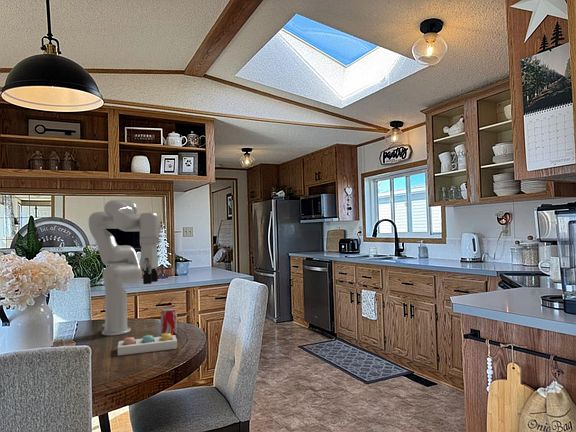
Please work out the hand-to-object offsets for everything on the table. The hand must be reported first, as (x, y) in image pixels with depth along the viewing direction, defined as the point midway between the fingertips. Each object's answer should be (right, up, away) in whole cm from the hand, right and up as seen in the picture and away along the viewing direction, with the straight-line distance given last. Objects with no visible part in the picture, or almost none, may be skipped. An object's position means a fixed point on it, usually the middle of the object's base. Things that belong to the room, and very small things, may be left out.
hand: (150, 282), depth 168 cm
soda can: (+4, -26, +12) cm, 29 cm away
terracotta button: (-5, -24, -9) cm, 26 cm away
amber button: (+8, -23, -5) cm, 25 cm away
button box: (+1, -25, -7) cm, 26 cm away
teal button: (+1, -23, -7) cm, 24 cm away
